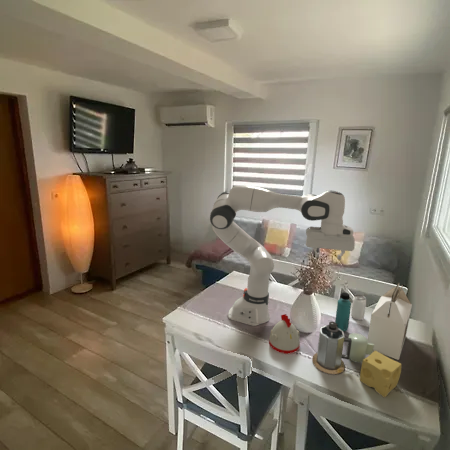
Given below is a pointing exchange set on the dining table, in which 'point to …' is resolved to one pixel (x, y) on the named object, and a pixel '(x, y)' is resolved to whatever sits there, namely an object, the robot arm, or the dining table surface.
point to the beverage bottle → (343, 312)
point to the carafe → (331, 352)
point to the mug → (359, 347)
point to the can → (358, 307)
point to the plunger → (332, 328)
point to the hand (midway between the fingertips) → (328, 257)
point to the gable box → (390, 323)
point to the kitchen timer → (284, 336)
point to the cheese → (380, 373)
